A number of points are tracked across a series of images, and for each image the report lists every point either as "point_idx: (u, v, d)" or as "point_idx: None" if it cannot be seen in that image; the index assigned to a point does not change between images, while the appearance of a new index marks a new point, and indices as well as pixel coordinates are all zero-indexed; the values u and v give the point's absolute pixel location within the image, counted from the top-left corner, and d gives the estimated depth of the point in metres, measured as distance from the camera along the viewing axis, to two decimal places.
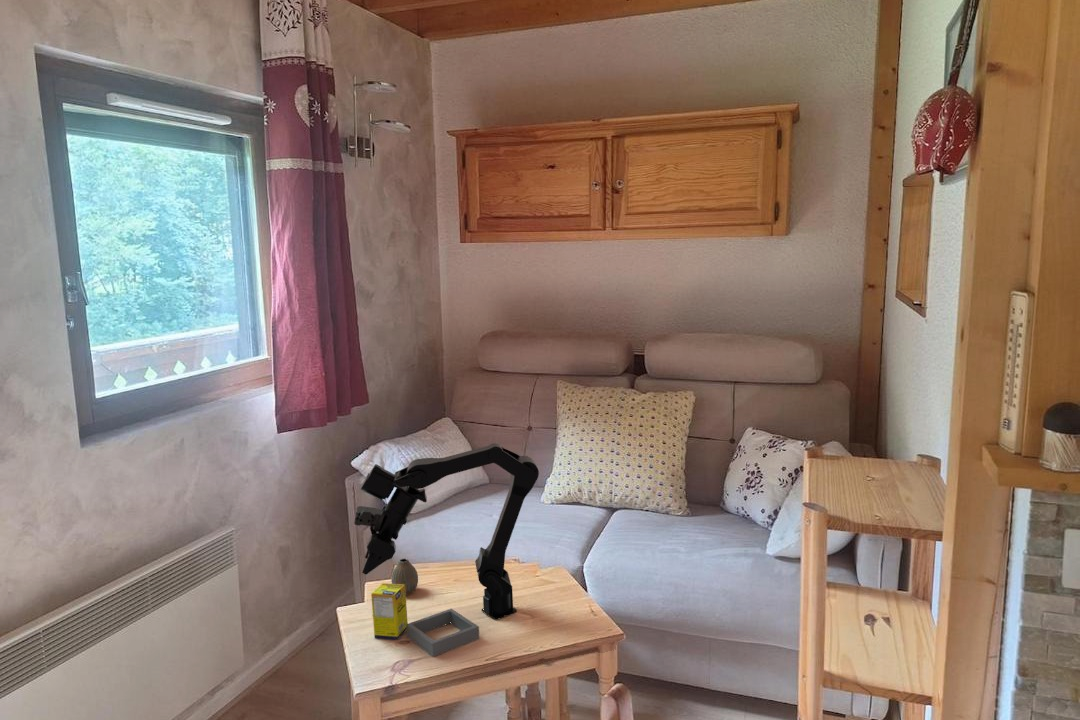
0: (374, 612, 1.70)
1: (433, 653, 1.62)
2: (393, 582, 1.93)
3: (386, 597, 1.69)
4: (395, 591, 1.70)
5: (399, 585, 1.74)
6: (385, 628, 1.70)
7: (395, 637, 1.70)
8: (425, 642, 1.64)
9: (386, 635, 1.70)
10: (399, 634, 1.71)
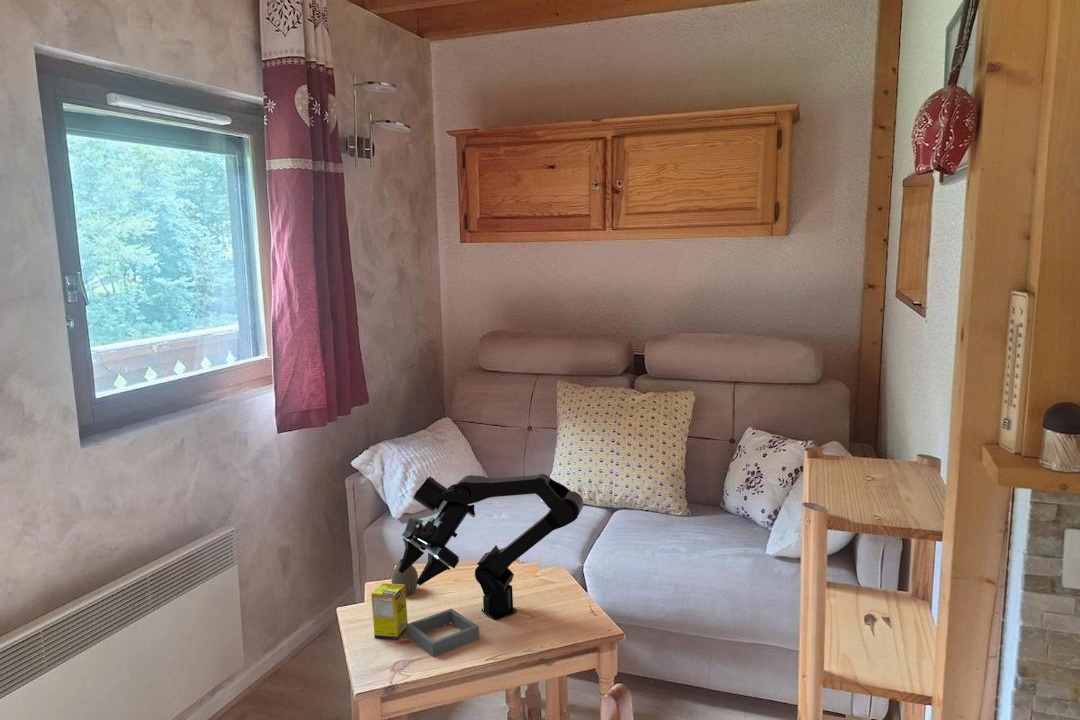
0: (374, 612, 1.70)
1: (433, 653, 1.62)
2: (393, 582, 1.93)
3: (386, 597, 1.69)
4: (395, 591, 1.70)
5: (399, 585, 1.74)
6: (385, 628, 1.70)
7: (395, 637, 1.70)
8: (425, 642, 1.64)
9: (386, 635, 1.70)
10: (399, 634, 1.71)
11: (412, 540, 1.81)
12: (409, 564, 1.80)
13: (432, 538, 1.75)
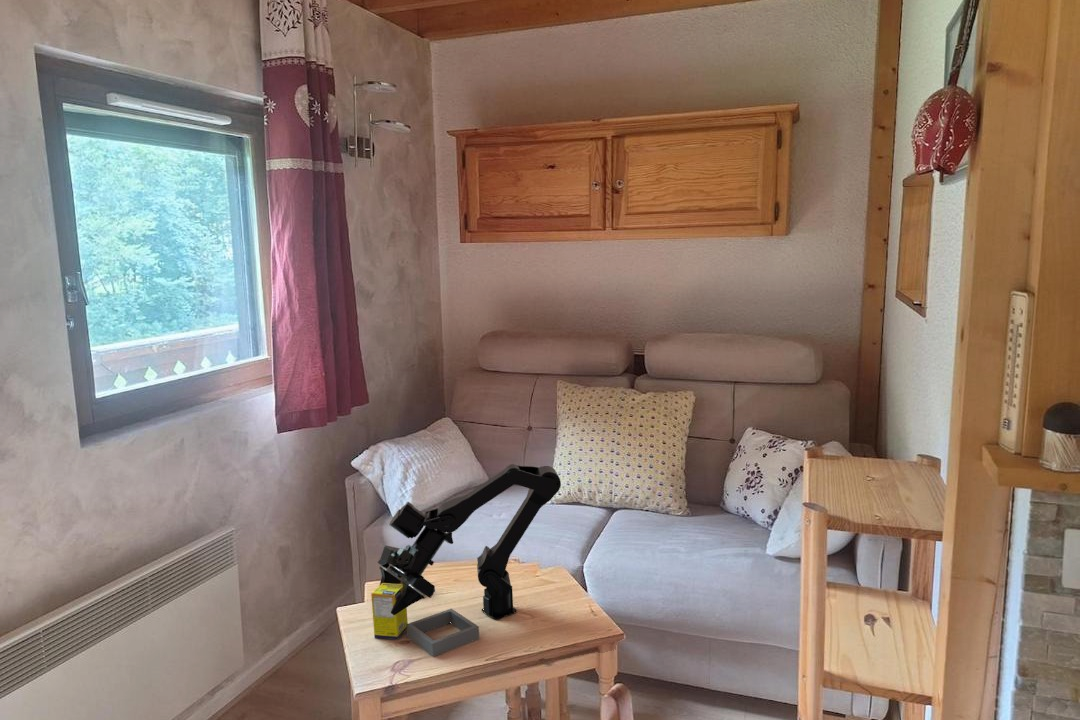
0: (374, 612, 1.70)
1: (433, 653, 1.62)
2: None
3: (386, 597, 1.69)
4: (395, 591, 1.70)
5: (399, 585, 1.74)
6: (385, 628, 1.70)
7: (395, 637, 1.70)
8: (425, 642, 1.64)
9: (386, 635, 1.70)
10: (399, 634, 1.71)
11: (389, 568, 1.77)
12: None
13: (408, 567, 1.71)
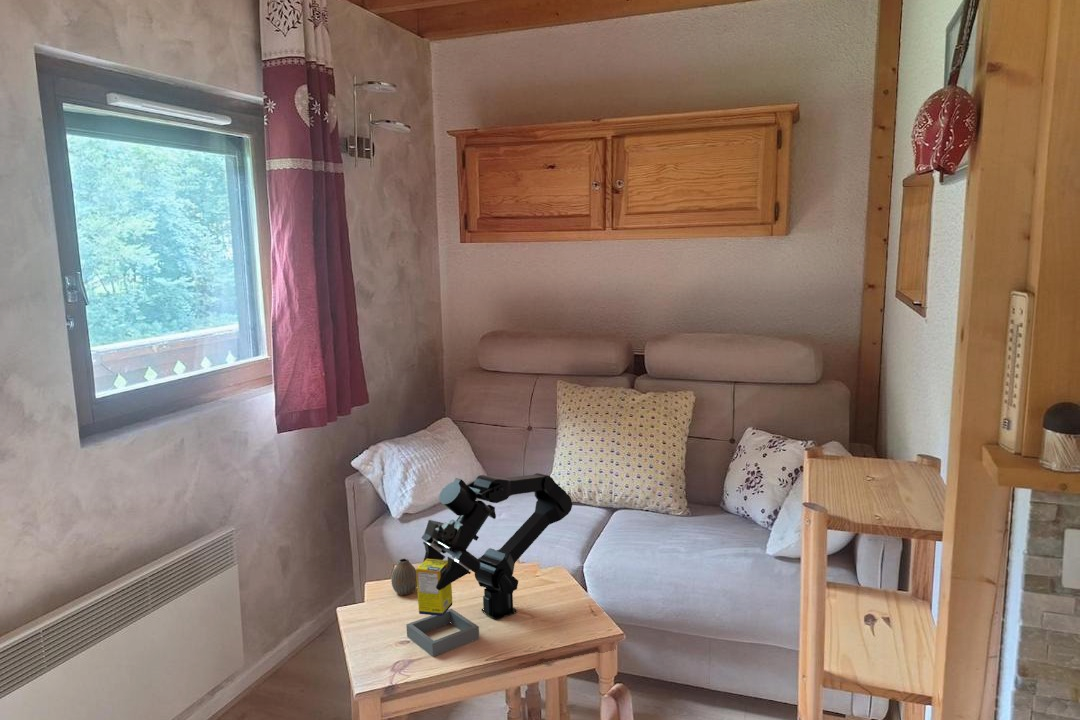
0: (419, 588, 1.67)
1: (433, 653, 1.62)
2: (393, 582, 1.93)
3: (431, 573, 1.66)
4: (440, 567, 1.67)
5: (444, 561, 1.70)
6: (430, 604, 1.67)
7: (440, 613, 1.67)
8: (425, 642, 1.64)
9: (431, 611, 1.67)
10: (444, 610, 1.68)
11: (433, 544, 1.74)
12: None
13: (452, 541, 1.68)
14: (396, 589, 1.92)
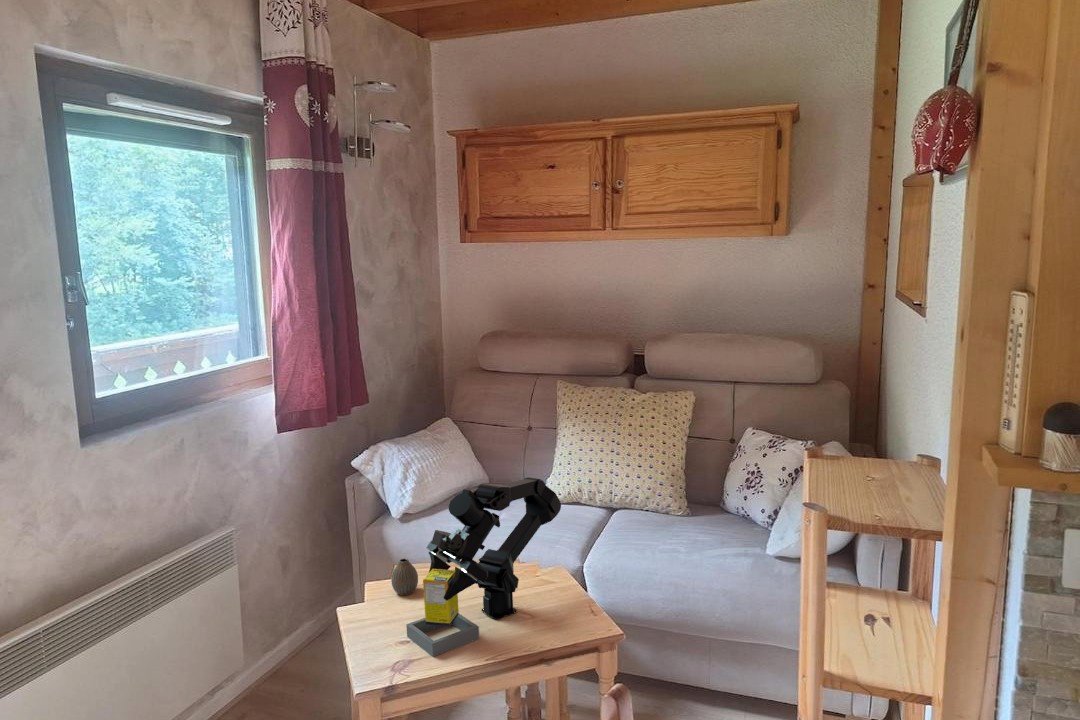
0: (426, 598, 1.67)
1: (433, 653, 1.62)
2: (393, 582, 1.93)
3: (438, 584, 1.66)
4: (447, 577, 1.67)
5: (450, 571, 1.70)
6: (437, 614, 1.67)
7: (447, 624, 1.67)
8: (425, 642, 1.64)
9: (438, 622, 1.67)
10: (451, 621, 1.67)
11: (438, 553, 1.74)
12: None
13: (459, 551, 1.68)
14: (396, 589, 1.92)
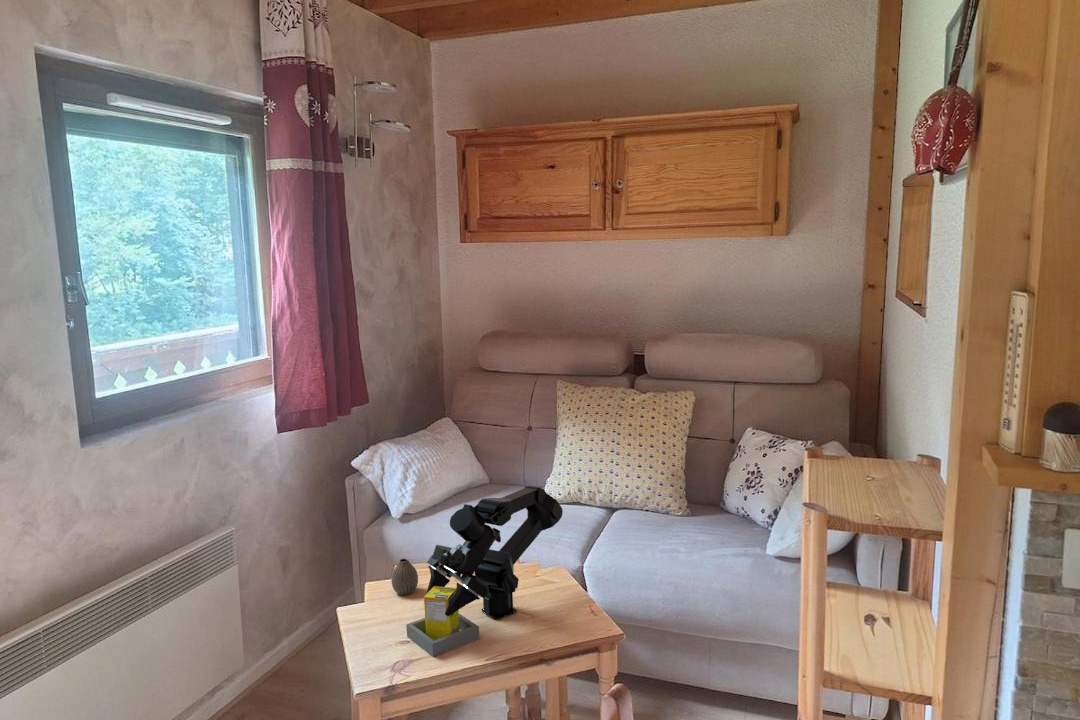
0: (426, 616, 1.68)
1: (433, 653, 1.62)
2: (393, 582, 1.93)
3: (439, 601, 1.66)
4: (448, 595, 1.67)
5: (451, 588, 1.71)
6: (437, 632, 1.67)
7: None
8: (425, 642, 1.64)
9: None
10: None
11: (438, 567, 1.75)
12: None
13: (460, 566, 1.68)
14: (396, 589, 1.92)
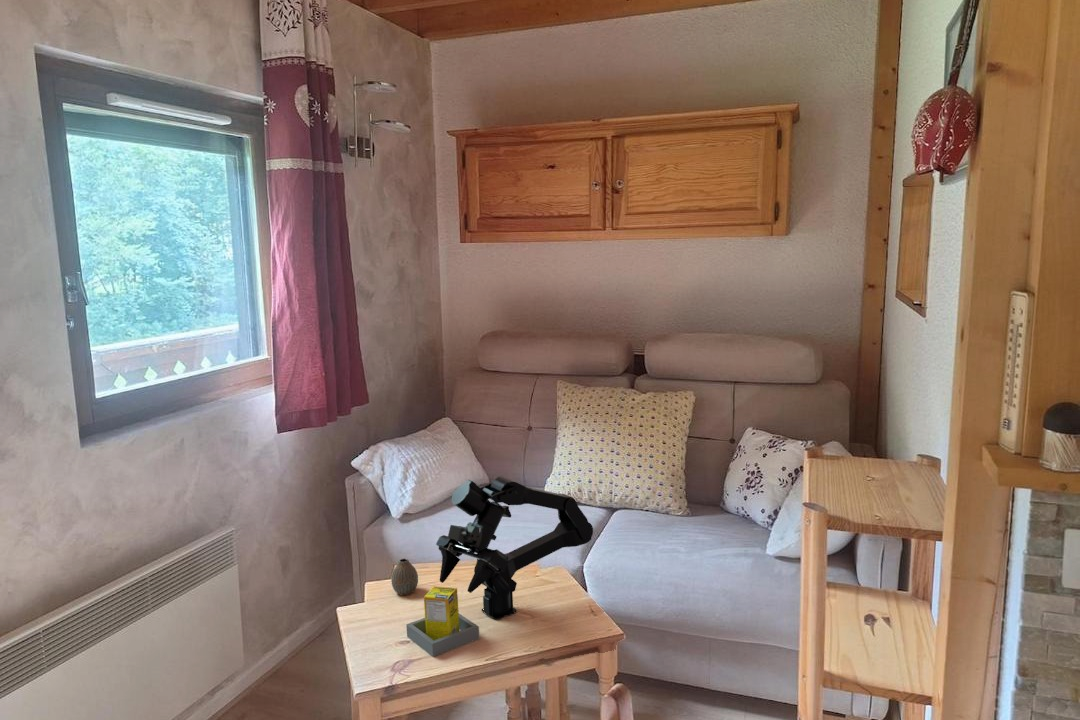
0: (426, 616, 1.68)
1: (433, 653, 1.62)
2: (393, 582, 1.93)
3: (439, 601, 1.66)
4: (448, 595, 1.67)
5: (451, 588, 1.71)
6: (437, 632, 1.67)
7: None
8: (425, 642, 1.64)
9: None
10: None
11: (449, 548, 1.76)
12: (448, 572, 1.75)
13: (477, 543, 1.71)
14: (396, 589, 1.92)
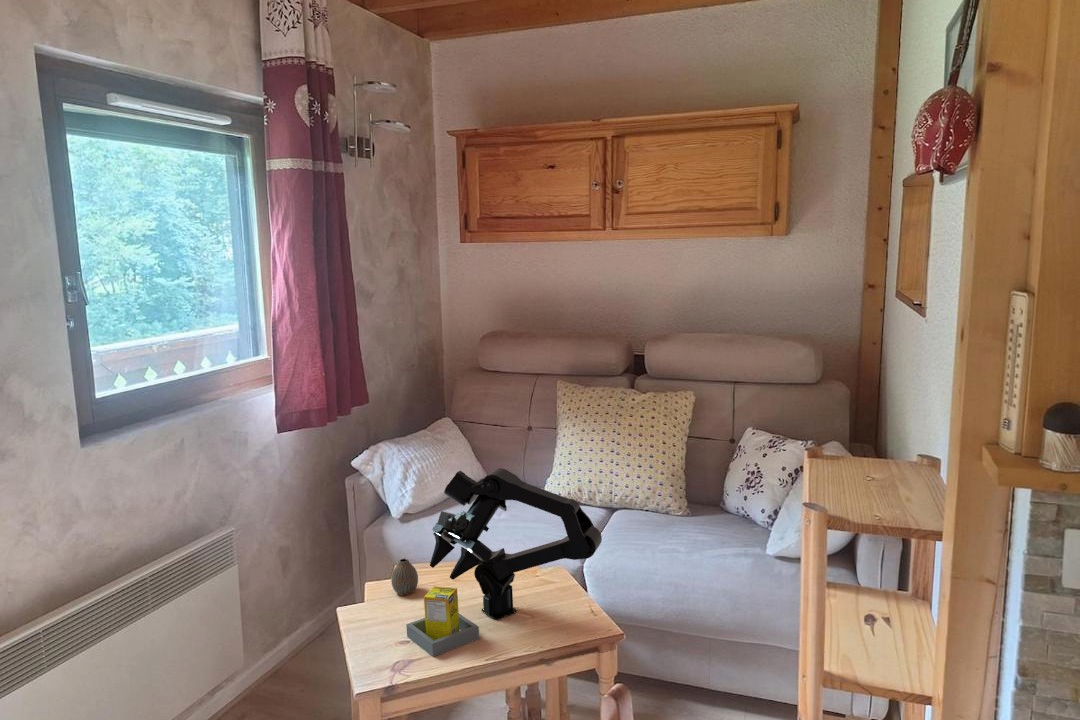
0: (426, 616, 1.68)
1: (433, 653, 1.62)
2: (393, 582, 1.93)
3: (439, 601, 1.66)
4: (448, 595, 1.67)
5: (451, 588, 1.71)
6: (437, 632, 1.67)
7: None
8: (425, 642, 1.64)
9: None
10: None
11: (443, 534, 1.79)
12: (440, 558, 1.78)
13: (464, 532, 1.73)
14: (396, 589, 1.92)
